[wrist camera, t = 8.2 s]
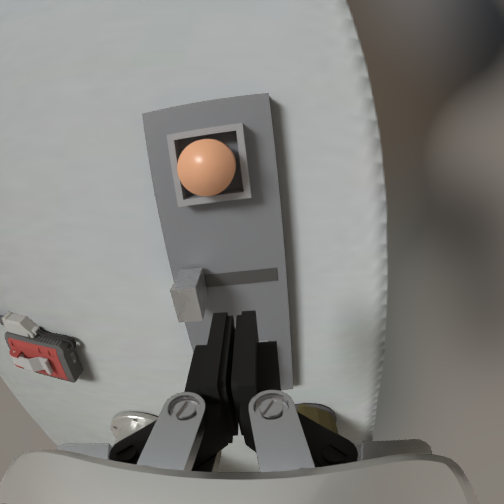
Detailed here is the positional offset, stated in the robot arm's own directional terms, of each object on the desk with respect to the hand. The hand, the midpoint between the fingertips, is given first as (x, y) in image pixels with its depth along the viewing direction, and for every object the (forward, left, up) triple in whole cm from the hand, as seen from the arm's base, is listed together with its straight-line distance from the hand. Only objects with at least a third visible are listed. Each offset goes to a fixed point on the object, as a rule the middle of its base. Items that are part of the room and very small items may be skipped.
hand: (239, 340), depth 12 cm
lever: (-4, +5, -14) cm, 15 cm away
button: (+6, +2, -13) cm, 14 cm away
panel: (-4, +2, -16) cm, 16 cm away
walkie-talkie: (-12, +33, -16) cm, 38 cm away
